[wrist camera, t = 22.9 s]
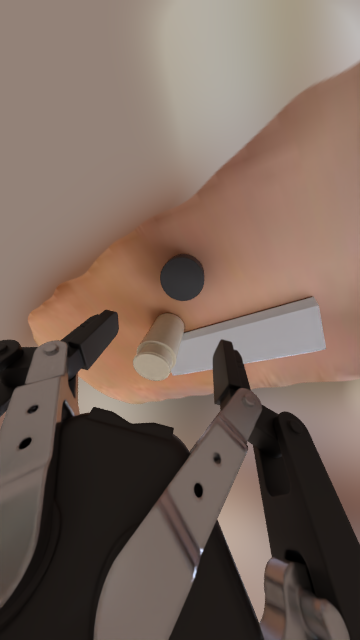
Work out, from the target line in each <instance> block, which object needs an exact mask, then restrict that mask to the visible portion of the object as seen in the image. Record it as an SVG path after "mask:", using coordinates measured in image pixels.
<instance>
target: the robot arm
mask: <svg viewBox="0 0 360 640" xmlns="http://www.w3.org/2000/svg"><path fill="white" fill-rule="evenodd" d="M118 330H119V325H118V314H117V312H114V311H110V310H105V311H103V312H102V313H101V314H100V315H98V314H97V315H95V316H92V317H90V318H89V319H87V320H86V321H85V322H84V323H82V324H81V325H80V326H78V327H77V328H76V329H75V330H73V331H72V332H71V333H70V334H68V335H67V336H66V337H65V338H63V339H62V340H61V341H59V340H57V341H50V342H47V343H44V344H42V345H41V346H39V347H21V346H20V344H19V343H18V342H17V341H15V340H2V341H0V416H1V415H3V413H4V412H6V411H7V412H6V415H5V418H4V420H3V424H2V426H1V429H0V640H360V544H359V542H358V540H357V538H356V536H355V533H354V531H353V529H352V527H351V524H350V522H349V520H348V518H347V516H346V514H345V511H344V509H343V507H342V504H341V502H340V500H339V498H338V496H337V494H336V491H335V489H334V487H333V485H332V482H331V480H330V478H329V476H328V474H327V471H326V469H325V467H324V465H323V463H322V461H321V458H320V456H319V454H318V452H317V450H316V447H315V445H314V443H313V441H312V438H311V436H310V434H309V432H308V430H307V428H306V427H305V425H304V424H303V423H302V422H301V421H300V420H299V419H298V418H297V417H296V416H294V415H293V414H291V413H289V412H281V413H280V414H277V413H275V412H273V411H272V410H270V409H268V408H266V407H265V406H263V405H262V404H261V402H260V400H259V398H258V397H257V396H256V395H255V394H254V393H253V392H252V391H251V389H250V386H249V382H248V378H247V375H246V371H245V367H244V364H243V360H242V356H241V355H240V353H239V352H238V351H237V350H234V348H233V344H232V342H231V341H227V340H223V339H221V340H220V342H219V344H218V346H217V348H216V350H215V352H214V354H213V360H212V361H213V382H214V402H215V404H217V405H220V409H221V411H220V412H219V413H218V415H217V416H216V418H215V419H214V420H213V421H212V423H211V424H210V425H209V427H208V428H207V429H206V431H205V432H204V433H203V435H202V436H201V437H200V439H199V440H198V441H197V442H196V444H195V445H194V446H193V448H192V449H191V451H190V452H189V450H188V449H187V447H186V446H185V444H184V443H183V442H182V441H181V440H180V439H179V438H178V437H177V436H175V435H174V434H173V430H174V428H172V427H168V426H165V425H160V424H157V423H138V424H132V423H129V422H128V421H126V420H125V419H123V418H122V417H120V416H119V415H117V414H116V413H114V412H112V411H108V410H104V409H100V408H96V407H93V409H92V410H91V412H90V413H84V414H80V413H79V407H78V371H79V370H80V369H81V368H82V369H85V370H88V369H89V368H90V367H91V366H92V365H93V363H94V362H95V361H96V360H97V358H98V357H99V356H100V355H101V354H102V352H103V351H104V350H105V349H106V347H107V346H108V345H109V344H110V343H111V341H112V340H113V339H114V338H115V336H116V335H117V333H118ZM247 441H248V442H250V443H251V444H253V448H254V454H255V460H256V466H257V472H258V478H259V484H260V489H261V495H262V501H263V507H264V513H265V519H266V525H267V531H268V536H269V543H270V548H271V554H272V558H271V559H270V560H269V561H268V562H267V565H266V568H265V574H264V591H265V608H264V613H263V617H262V619H261V621H260V623H259V622H258V619H257V617H256V614H255V611H254V609H253V606H252V604H251V601H250V599H249V597H248V594H247V592H246V589H245V587H244V584H243V582H242V580H241V577H240V574H239V572H238V570H237V567H236V564H235V562H234V559H233V557H232V555H231V552H230V550H229V547H228V545H227V542H226V540H225V537H224V535H223V532H222V530H221V527H220V525H219V522H218V520H217V518H218V516H219V514H220V512H221V509H222V507H223V505H224V503H225V500H226V498H227V496H228V494H229V491H230V489H231V487H232V485H233V483H234V480H235V478H236V476H237V474H238V471H239V469H240V467H241V465H242V462H243V460H244V458H245V456H246V453H247V450H248V446H247Z"/></svg>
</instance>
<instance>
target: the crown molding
mask: <svg viewBox="0 0 360 640" xmlns="http://www.w3.org/2000/svg"><path fill="white" fill-rule="evenodd" d="M221 339H223V340H227V341H231V342H232V344H233V348H234V350H237V351H238V352H239V353H240V355H241V356H242V360H243V364H246V363H252V362H257V361H263V360H269V359H275V358H281V357H286V356H292V355H298V354H304V353H310V352H315V351H319V350H324V349H326V346H325V340H324V334H323V328H322V322H321V316H320V310H319V305H318V303H317V302H316V300H315V298H314V297H311V298H307V299H304V300H300V301H297V302H293V303H290V304H286V305H282V306H279V307H275V308H272V309H268V310H265V311H261V312H258V313H254V314H250V315H247V316H243V317H240V318H236V319H233V320H229V321H225V322H222V323H218V324H215V325H211V326H208V327H204V328H201V329H197V330H193V331H190V332H186V333H184V334H183V338H182V341H181V345H180V349H179V353H178V357H177V361H176V364H175V366H174V367H173V368H172V369H171V372H172V374H173V375H182V374H188V373H193V372H199V371H205V370H211V369H213V361H212V360H213V354H214V352H215V350H216V348H217V346H218V344H219V342H220V340H221Z"/></svg>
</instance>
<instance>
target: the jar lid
mask: <svg viewBox="0 0 360 640" xmlns="http://www.w3.org/2000/svg"><path fill="white" fill-rule="evenodd" d="M160 281H161V285H162V288H163V290H164V291H165V292H166V294H167V295H169V296H170V297H171V298H173V299H176V300H179V301H187V300H190V299H193V298H194V297H196V296H197V295H198V294H199V293H200V292H201V290H202V288H203V285H204V270H203V267H202V265H201V263H200V262H199V261H198V260H197V259H196V258H195V257H193V256H190V255H187V254H180V255H177V256H174V257H173V258H171V259H170V260H169V261H168V262H167V263H166V264H165V266H164V267H163V269H162V271H161V276H160Z"/></svg>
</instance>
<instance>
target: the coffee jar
mask: <svg viewBox="0 0 360 640" xmlns="http://www.w3.org/2000/svg"><path fill="white" fill-rule="evenodd" d="M184 330H185V327H184V323H183V321H182V320H181V319H180V318H179V317H178V316H176V315H174V314H171V313H165V314H162V315H160V316H158V317H157V319H156V320H155V322H154V323H153V325H152V326H151V328H150V329H149V331H148V332H147V334H146V336H145V337H144V339H143V340H142V342H141V343H140V345H139V346H138V348H137V355H136V356H135V358H134V360H133V365H134V368H135V370H136V371H137V372H138V373H139V374H140V375H141V376H142V377H144V378H146V379H149V380H153V381H160V380H164V379H166V378H167V377H168V376H169V373H171V369H172V368H173V367H174V366H175V364H176V361H177V357H178V353H179V349H180V345H181V341H182V338H183V334H184Z"/></svg>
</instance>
